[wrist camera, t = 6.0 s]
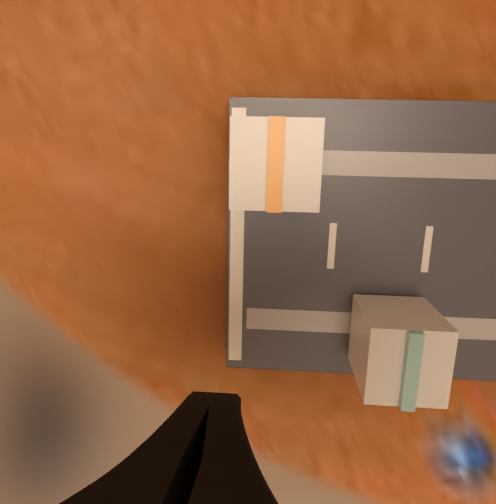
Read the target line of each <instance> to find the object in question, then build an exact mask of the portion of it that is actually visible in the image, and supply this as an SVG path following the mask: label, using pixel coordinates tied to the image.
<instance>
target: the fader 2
mask: <svg viewBox="0 0 496 504" xmlns="http://www.w3.org/2000/svg"><path fill="white" fill-rule="evenodd" d="M458 337H459V332H458V331H457V330H456V329H455V328H454V327H453V326H452V325H451V324H450V323H449V322H448V321H447V320H446V319H445V318H444V317H443V316H442V315H441V314H440V313H439V312H438V311H437V310H436V309H435V308H434V307H433V305H432V304H431V303H430V302H429V301H428V300H427V299H426V298H425V297H409V296H385V295H361V294H353V302H352V314H351V325H350V337H349V349H348V360H349V363H350V366H351V369H352V372H353V375H354V377H355V380H356V383H357V386H358V389H359V392H360V395H361V398H362V401H363V404H366V405H384V406H398V407H399V409H400V411H405V412H415V408H416V407H419V408H436V409H448V403H449V396H450V390H451V383H452V377H453V370H454V363H455V357H456V350H457V343H458Z"/></svg>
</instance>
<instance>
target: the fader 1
mask: <svg viewBox="0 0 496 504" xmlns="http://www.w3.org/2000/svg"><path fill="white" fill-rule="evenodd" d="M324 130H325V118H315V117H285V116H269V117H261V116H230V159H229V210H247V211H266V212H269V213H282V212H311V213H319V211H320V194H321V178H322V162H323V146H324Z"/></svg>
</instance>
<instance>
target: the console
mask: <svg viewBox="0 0 496 504" xmlns="http://www.w3.org/2000/svg"><path fill="white" fill-rule="evenodd" d="M230 116H261V117H269V116H285V117H315V118H325V130H324V146H323V162H322V178H321V194H320V211H319V213H311V212H282V213H269V212H266V211H247V210H229V178H228V267H227V356H226V367H235V368H254V369H273V370H292V371H311V372H330V373H349V374H353V372H352V369H351V366H350V363H349V360H348V349H349V337H350V325H351V314H352V302H353V294H361V295H385V296H409V297H425V298H426V299H427V300H428V301H429V302H430V303H431V304H432V305H433V307H434V308H435V309H436V310H437V311H438V312H439V313H440V314H441V315H442V316H443V317H444V318H445V319H446V320H447V321H448V322H449V323H450V324H451V325H452V326H453V327H454V328H455V329H456V330H457V331H458V332H459V337H458V343H457V350H456V357H455V363H454V370H453V377H452V379H463V380H482V381H496V101H445V100H382V99H320V98H258V97H229V159H230Z"/></svg>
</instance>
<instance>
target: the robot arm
mask: <svg viewBox="0 0 496 504" xmlns="http://www.w3.org/2000/svg"><path fill="white" fill-rule="evenodd" d="M60 504H278V502H277V501H276V499H275V497H274V495H273V494H272V492H271V490H270V488H269V487H268V485H267V483H266V481H265V479H264V477H263V475H262V473H261V471H260V469H259V466H258V464H257V461H256V459H255V457H254V454H253V452H252V449H251V447H250V444H249V441H248V437H247V434H246V431H245V428H244V424H243V420H242V415H241V398H240V397H239V396H238V395H237V394H228V393H211V392H192V393H191V394H190V395H189V396H188V397H187V398H186V399H185V400H184V401H183V402H182V403H181V405H180V406H179V407H178V408H177V409H176V410H175V411H174V412H173V413H172V415H171V416H170V417H169V418H168V419H167V420H166V421H165V422H164V423H163V424H162V425H161V426H160V427H159V428H158V429H157V430H156V431H155V432H154V433H153V434H152V435H151V436H150V437H149V438H148V439H147V440H146V441H145V442H143V443H142V444H141V445H140V446H139V447H138V448H137V449H136V450H135V451H134V452H132V453H131V454H130V455H129V456H128V457H127V458H125V459H124V460H123V461H122V462H120V463H119V464H118V465H117V466H115V467H114V468H113V469H112V470H110V471H109V472H107V473H106V474H105V475H103V476H102V477H101V478H99V479H98V480H96V481H95V482H93V483H92V484H90V485H88V486H87V487H86V488H84V489H82V490H81V491H79V492H77V493H76V494H74V495H73V496H71V497H69V498H68V499H66V500H65V501H63V502H61V503H60Z"/></svg>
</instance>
